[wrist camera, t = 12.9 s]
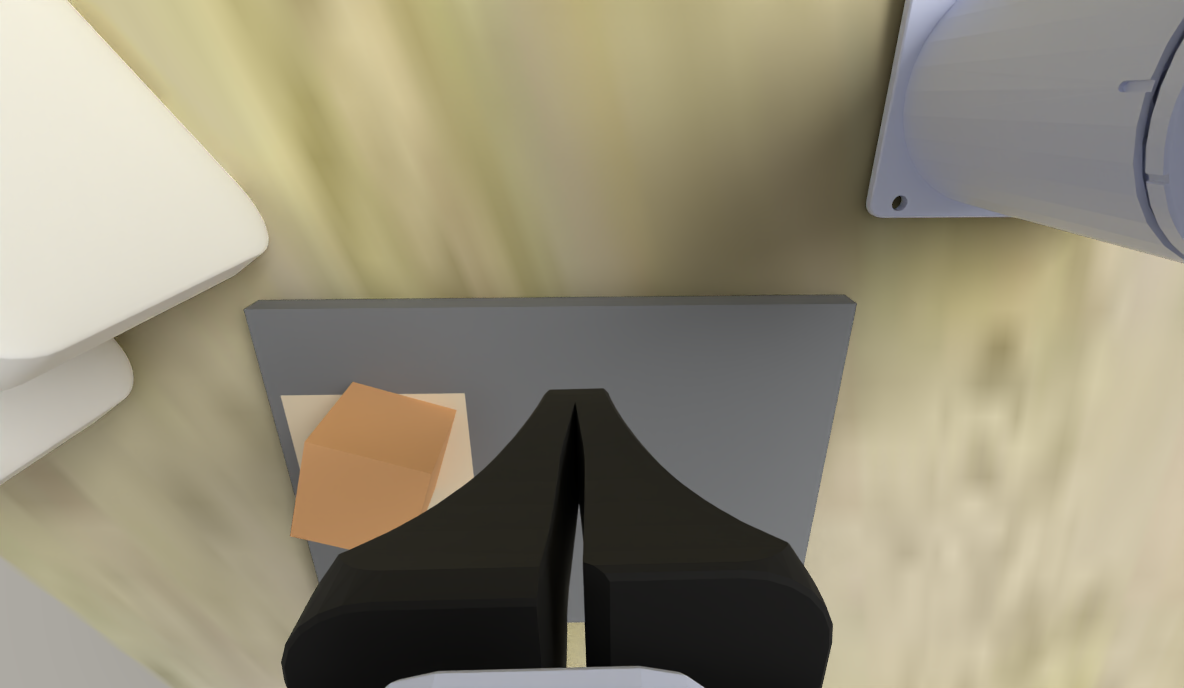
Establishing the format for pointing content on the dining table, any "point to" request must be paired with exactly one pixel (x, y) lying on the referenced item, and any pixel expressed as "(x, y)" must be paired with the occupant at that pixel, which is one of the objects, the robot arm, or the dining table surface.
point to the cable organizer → (93, 224)
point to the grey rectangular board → (584, 385)
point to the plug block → (369, 466)
